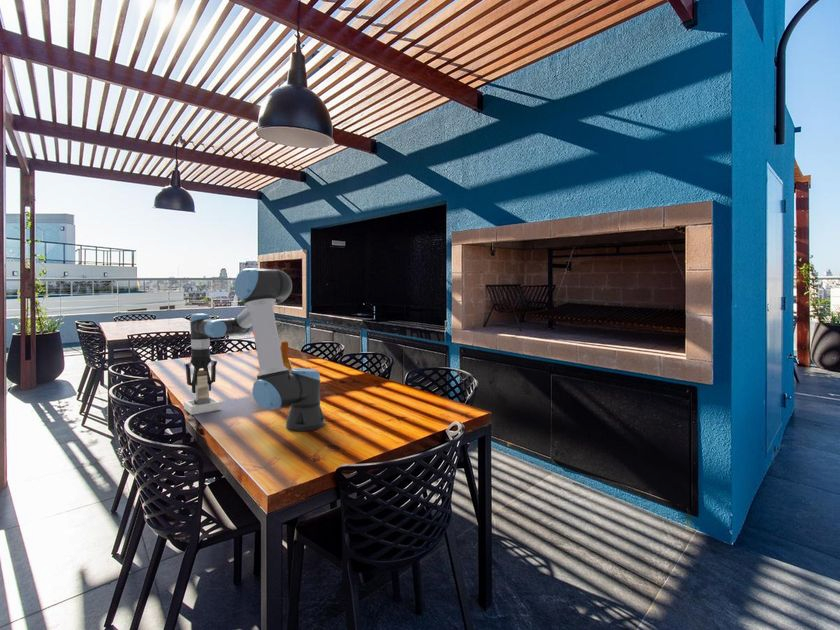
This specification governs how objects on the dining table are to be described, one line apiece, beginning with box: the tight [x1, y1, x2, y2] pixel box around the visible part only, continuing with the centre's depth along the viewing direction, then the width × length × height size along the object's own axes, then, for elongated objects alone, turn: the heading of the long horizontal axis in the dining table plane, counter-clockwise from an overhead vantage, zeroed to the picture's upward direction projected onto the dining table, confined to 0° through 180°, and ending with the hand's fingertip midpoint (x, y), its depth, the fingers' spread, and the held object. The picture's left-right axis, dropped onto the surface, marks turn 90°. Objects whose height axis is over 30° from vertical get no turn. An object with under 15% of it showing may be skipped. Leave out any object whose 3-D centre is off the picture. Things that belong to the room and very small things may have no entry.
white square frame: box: [183, 396, 221, 416], centre depth 194 cm, size 12×12×5 cm
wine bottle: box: [280, 341, 293, 374], centre depth 205 cm, size 10×10×30 cm
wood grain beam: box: [196, 369, 208, 402], centre depth 194 cm, size 4×4×14 cm
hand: (201, 398), depth 194 cm, fingers closed on wood grain beam, 4 cm apart
